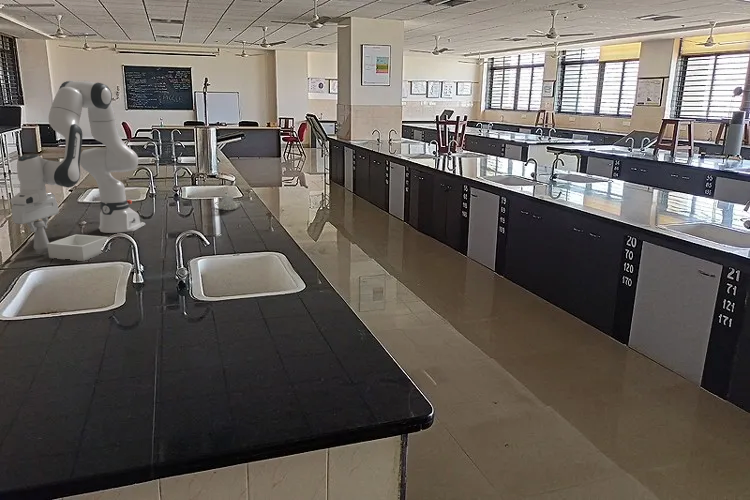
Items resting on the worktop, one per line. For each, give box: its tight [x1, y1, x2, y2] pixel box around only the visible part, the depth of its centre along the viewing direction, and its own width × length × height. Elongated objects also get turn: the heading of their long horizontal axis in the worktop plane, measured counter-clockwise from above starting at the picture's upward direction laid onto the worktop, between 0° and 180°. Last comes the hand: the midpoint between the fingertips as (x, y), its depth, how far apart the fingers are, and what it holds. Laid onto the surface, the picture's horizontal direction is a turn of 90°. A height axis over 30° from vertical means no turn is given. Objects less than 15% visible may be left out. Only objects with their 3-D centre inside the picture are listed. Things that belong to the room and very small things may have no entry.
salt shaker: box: [33, 219, 50, 255], centre depth 234 cm, size 6×6×13 cm
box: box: [47, 233, 111, 262], centre depth 237 cm, size 16×16×6 cm
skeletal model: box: [214, 191, 243, 211], centre depth 329 cm, size 16×9×25 cm
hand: (39, 229), depth 233 cm, fingers closed on salt shaker, 4 cm apart
